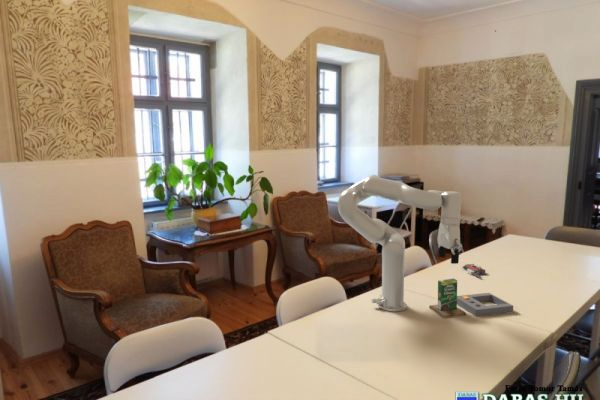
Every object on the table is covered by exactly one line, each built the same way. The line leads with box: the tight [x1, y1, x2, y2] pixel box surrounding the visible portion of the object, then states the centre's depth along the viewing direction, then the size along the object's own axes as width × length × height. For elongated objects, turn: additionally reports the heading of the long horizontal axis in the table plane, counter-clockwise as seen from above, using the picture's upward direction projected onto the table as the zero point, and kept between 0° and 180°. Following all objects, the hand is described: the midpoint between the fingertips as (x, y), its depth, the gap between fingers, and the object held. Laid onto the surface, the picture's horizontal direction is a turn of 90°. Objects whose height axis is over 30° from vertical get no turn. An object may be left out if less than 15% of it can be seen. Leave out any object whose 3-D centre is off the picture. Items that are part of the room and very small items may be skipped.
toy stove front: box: [457, 292, 514, 317], centre depth 187 cm, size 18×16×4 cm
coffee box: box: [437, 278, 458, 311], centre depth 182 cm, size 8×3×13 cm, turn 103°
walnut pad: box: [428, 304, 467, 319], centre depth 183 cm, size 11×11×1 cm
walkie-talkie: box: [462, 263, 486, 279], centre depth 234 cm, size 9×4×20 cm
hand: (448, 260), depth 180 cm, fingers open, 9 cm apart
